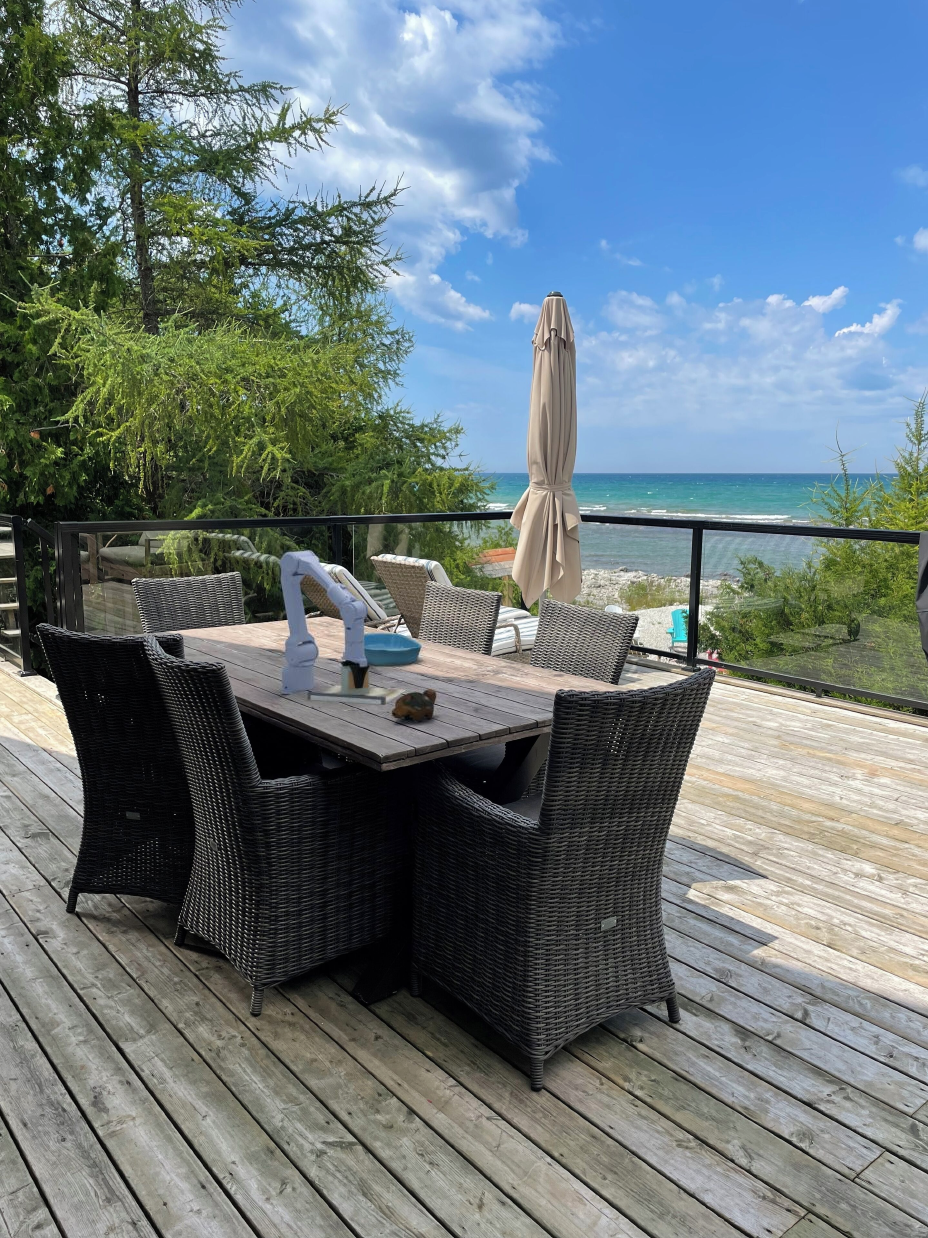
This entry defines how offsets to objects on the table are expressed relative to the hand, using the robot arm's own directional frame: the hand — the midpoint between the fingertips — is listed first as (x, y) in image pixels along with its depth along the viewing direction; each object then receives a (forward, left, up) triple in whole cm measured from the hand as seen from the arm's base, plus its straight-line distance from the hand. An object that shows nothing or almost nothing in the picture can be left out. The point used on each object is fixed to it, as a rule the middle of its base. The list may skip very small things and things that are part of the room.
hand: (355, 686), depth 271 cm
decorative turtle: (+24, -16, -5) cm, 29 cm away
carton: (0, 0, -2) cm, 2 cm away
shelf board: (0, +3, -4) cm, 5 cm away
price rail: (0, -7, -4) cm, 8 cm away
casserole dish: (-15, +67, -5) cm, 69 cm away
